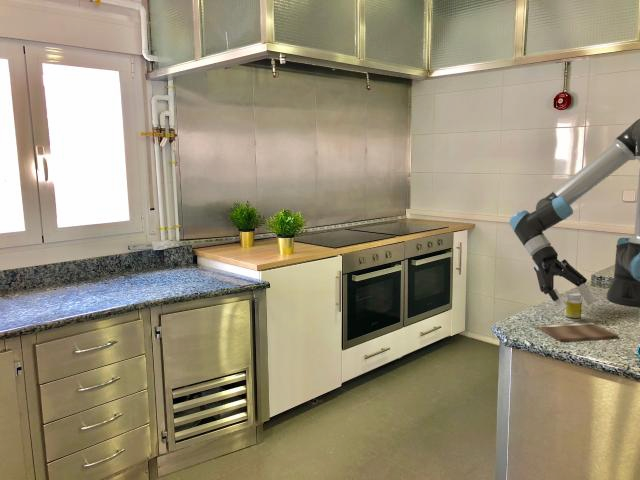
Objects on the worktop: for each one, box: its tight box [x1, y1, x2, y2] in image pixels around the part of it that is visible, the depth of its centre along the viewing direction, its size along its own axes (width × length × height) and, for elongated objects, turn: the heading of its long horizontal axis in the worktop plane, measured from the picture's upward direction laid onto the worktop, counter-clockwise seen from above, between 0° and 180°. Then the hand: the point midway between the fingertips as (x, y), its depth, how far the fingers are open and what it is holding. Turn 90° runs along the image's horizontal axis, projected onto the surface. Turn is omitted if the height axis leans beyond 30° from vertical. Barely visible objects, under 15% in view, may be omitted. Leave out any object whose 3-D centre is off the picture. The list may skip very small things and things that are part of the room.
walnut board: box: [536, 321, 619, 343], centre depth 152 cm, size 18×12×1 cm, turn 98°
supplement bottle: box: [563, 291, 583, 322], centre depth 165 cm, size 5×5×8 cm
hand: (578, 305), depth 163 cm, fingers open, 13 cm apart
